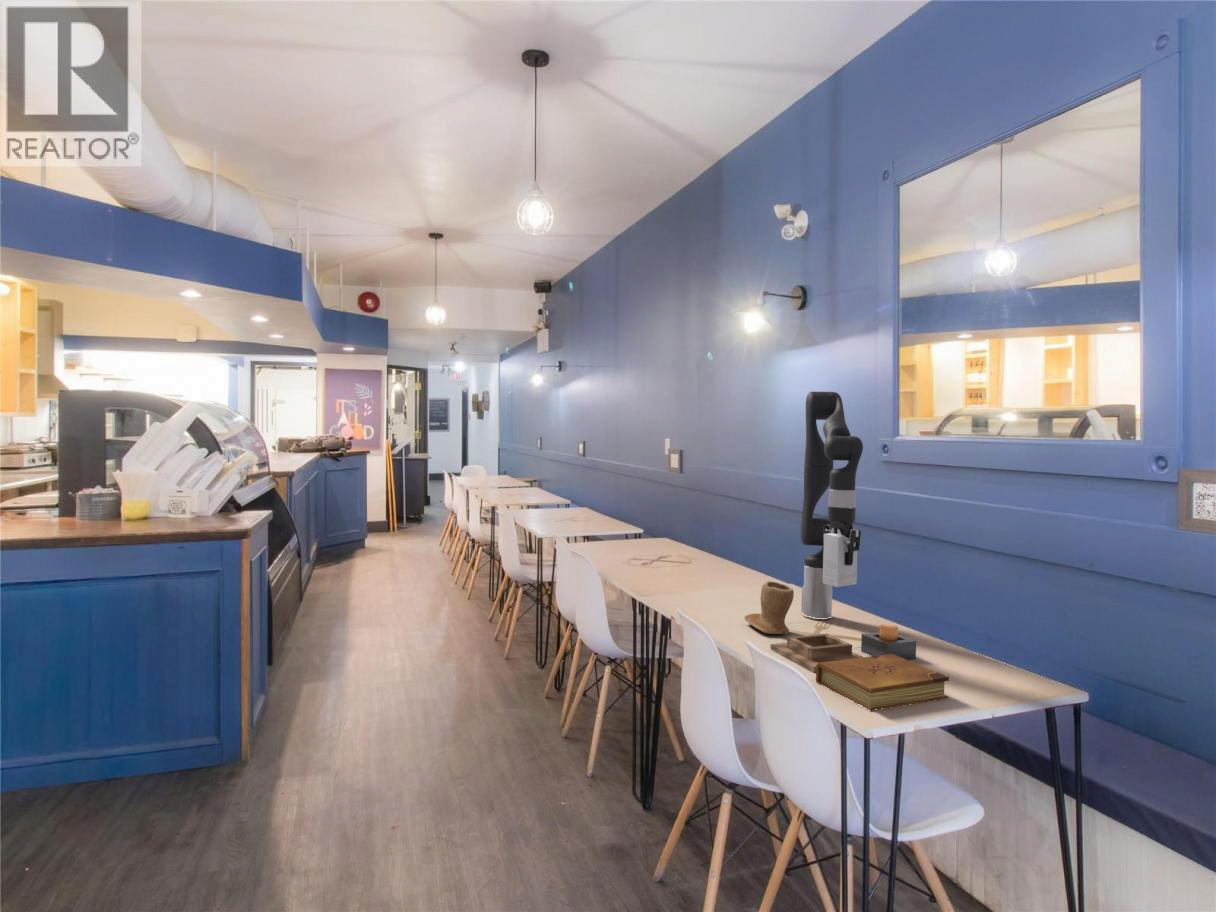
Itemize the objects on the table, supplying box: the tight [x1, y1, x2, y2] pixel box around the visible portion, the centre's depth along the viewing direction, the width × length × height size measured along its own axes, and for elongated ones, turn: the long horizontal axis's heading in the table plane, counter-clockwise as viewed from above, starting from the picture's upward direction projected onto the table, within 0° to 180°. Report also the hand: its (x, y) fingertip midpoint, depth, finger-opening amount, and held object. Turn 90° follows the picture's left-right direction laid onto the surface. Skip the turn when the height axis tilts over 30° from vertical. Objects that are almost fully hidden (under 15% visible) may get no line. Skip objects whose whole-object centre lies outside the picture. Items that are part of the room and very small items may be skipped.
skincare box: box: [823, 533, 858, 588], centre depth 200 cm, size 8×6×15 cm
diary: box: [815, 654, 950, 711], centre depth 166 cm, size 23×19×6 cm
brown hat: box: [743, 580, 795, 635], centre depth 216 cm, size 15×12×15 cm
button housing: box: [860, 631, 917, 661], centre depth 193 cm, size 10×10×5 cm
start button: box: [878, 623, 899, 641], centre depth 193 cm, size 5×5×4 cm
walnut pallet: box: [769, 633, 864, 674], centre depth 190 cm, size 20×18×4 cm
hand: (840, 563), depth 200 cm, fingers closed on skincare box, 6 cm apart
